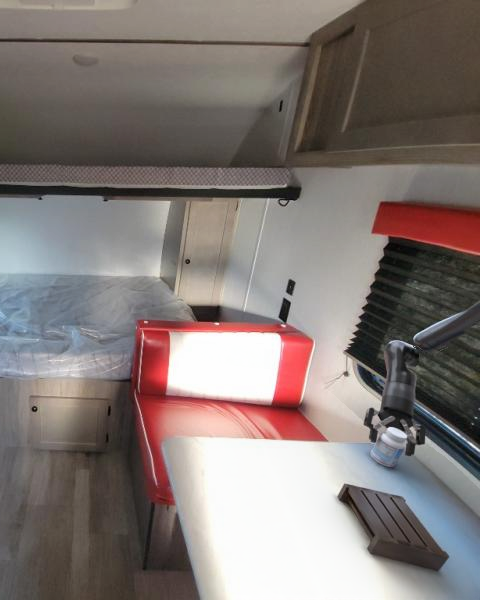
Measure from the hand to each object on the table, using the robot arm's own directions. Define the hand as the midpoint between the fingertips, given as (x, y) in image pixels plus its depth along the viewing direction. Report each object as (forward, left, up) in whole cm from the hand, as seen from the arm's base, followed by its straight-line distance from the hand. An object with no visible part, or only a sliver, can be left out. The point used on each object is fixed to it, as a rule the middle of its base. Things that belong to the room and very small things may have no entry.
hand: (390, 448), depth 102 cm
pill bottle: (0, -1, -6) cm, 6 cm away
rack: (+15, +26, -6) cm, 30 cm away
